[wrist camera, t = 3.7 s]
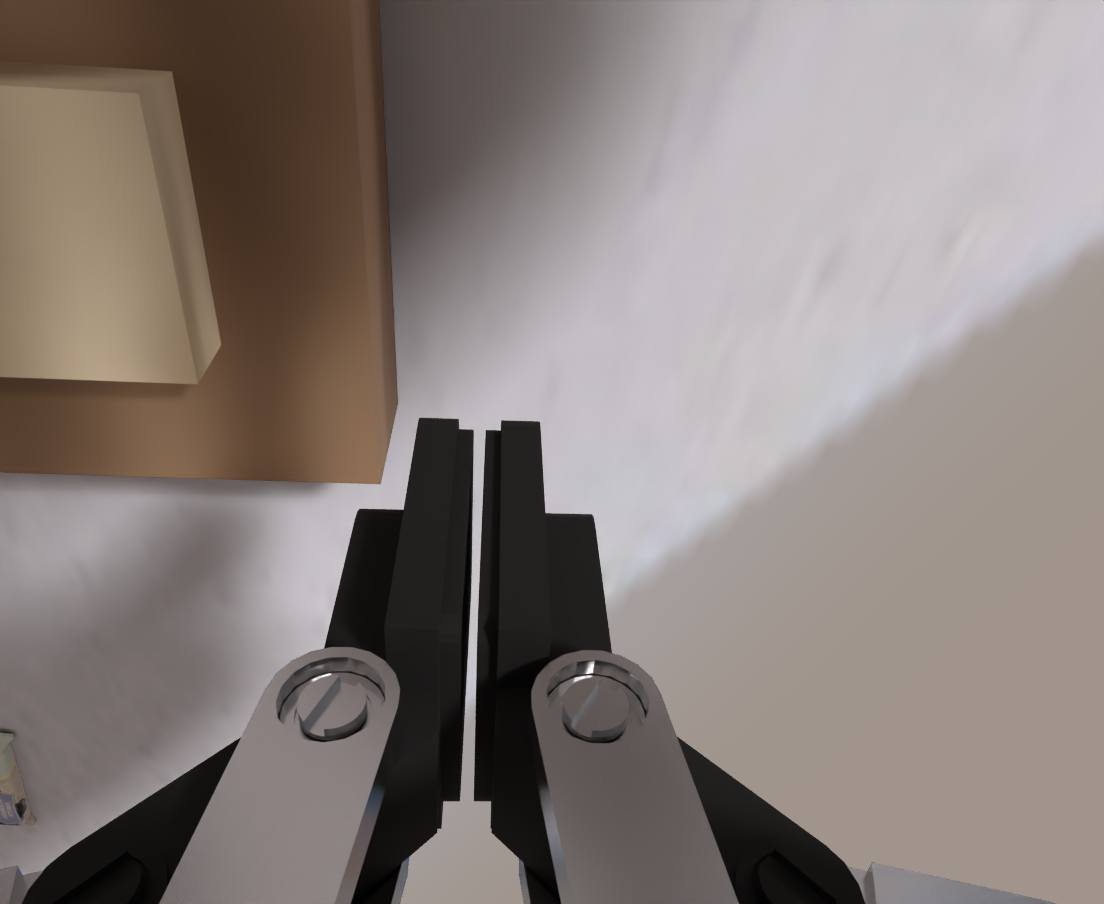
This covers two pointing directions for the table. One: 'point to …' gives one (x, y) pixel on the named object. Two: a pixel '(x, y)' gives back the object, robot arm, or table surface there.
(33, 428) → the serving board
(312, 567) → the table surface
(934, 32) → the table surface
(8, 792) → the granola bar
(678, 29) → the table surface
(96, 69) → the coaster tile
